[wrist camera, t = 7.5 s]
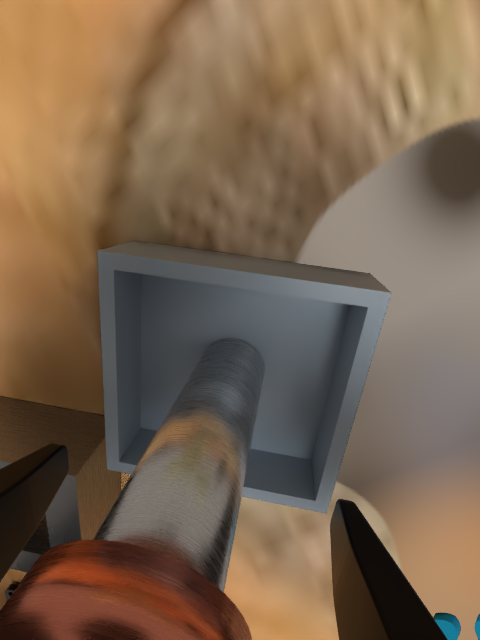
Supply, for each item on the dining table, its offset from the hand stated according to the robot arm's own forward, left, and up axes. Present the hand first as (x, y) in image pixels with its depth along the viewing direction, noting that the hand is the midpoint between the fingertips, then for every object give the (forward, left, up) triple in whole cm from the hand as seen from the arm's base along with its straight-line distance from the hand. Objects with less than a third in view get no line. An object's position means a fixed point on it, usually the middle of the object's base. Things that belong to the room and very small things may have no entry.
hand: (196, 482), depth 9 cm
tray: (0, 0, -7) cm, 7 cm away
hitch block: (-8, +10, -7) cm, 15 cm away
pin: (0, 0, -6) cm, 7 cm away
